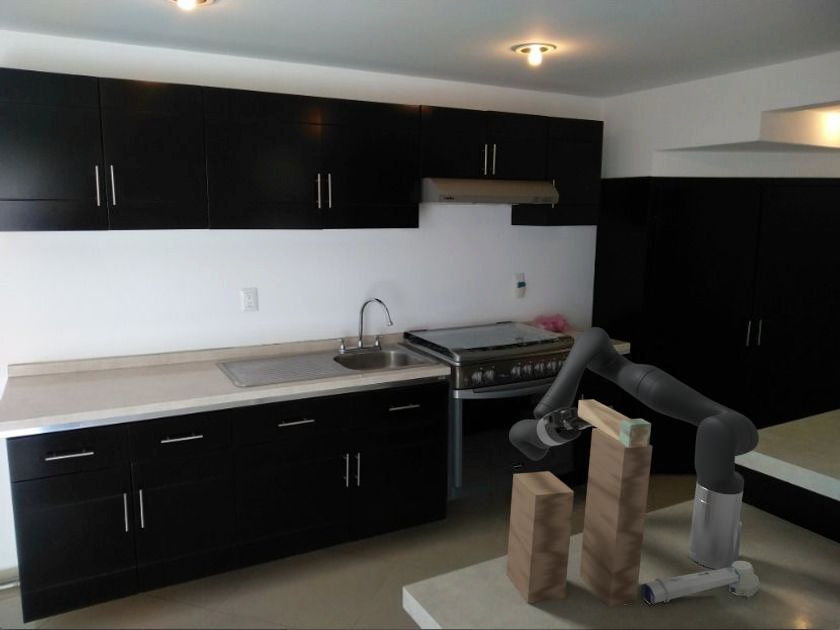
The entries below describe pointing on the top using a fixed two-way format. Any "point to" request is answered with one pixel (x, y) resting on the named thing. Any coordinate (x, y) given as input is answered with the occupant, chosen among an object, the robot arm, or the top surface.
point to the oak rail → (615, 423)
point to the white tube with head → (703, 583)
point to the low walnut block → (539, 536)
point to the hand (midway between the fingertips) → (594, 411)
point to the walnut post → (614, 518)
